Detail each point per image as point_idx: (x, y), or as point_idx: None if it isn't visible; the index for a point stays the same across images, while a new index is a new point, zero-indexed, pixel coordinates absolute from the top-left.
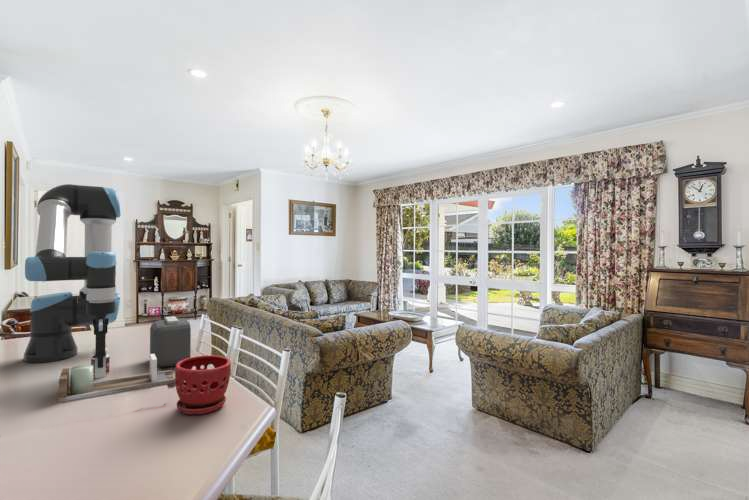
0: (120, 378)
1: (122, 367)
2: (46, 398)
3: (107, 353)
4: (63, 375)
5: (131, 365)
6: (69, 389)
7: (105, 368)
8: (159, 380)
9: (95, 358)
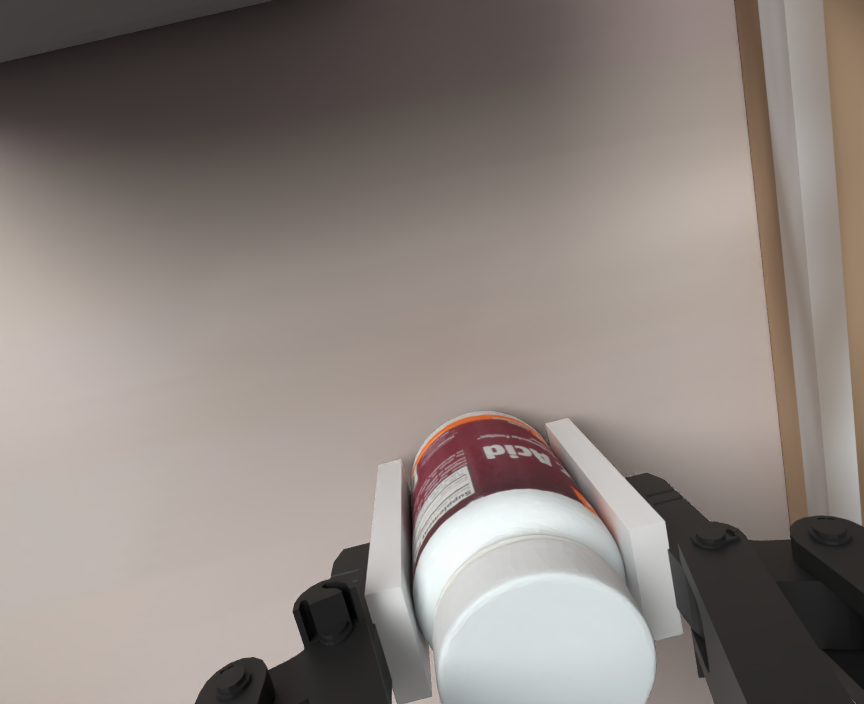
0: (829, 247)
1: (182, 357)
2: None
3: (553, 535)
4: None
5: (125, 283)
6: None
7: (598, 451)
8: None
9: (675, 619)
